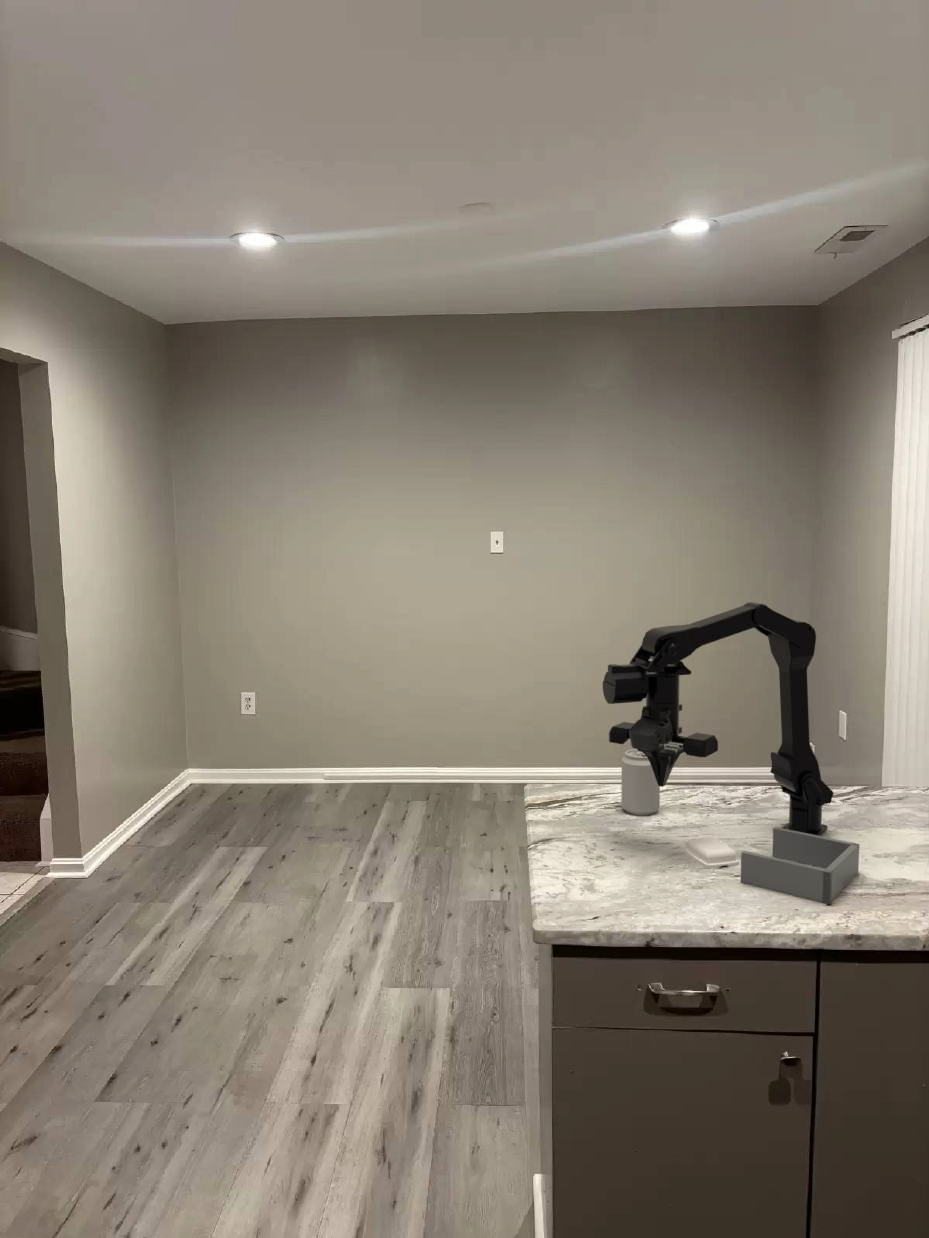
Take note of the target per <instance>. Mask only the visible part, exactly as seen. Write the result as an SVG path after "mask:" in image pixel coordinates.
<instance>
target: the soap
mask: <svg viewBox="0 0 929 1238" xmlns="http://www.w3.org/2000/svg"><path fill="white" fill-rule="evenodd" d="M683 852H684V854H685V855H686V856H688V858H690V859H691V860H693V862H695V863H697V864H699V865H700V866H702V867H703V868H705V869H707V870H709V869H720V868H721V867H724V866H727V867H728V868H729V867H735V866H739V865H740V860H739V859H738V858H737V852H736V851H735V850H734V849H733V848H732V847H730V846H729V845H727V844H726V843H725V842H723V841H721V839H718V838H716V837H715V836H705V837H696V838H690V839H687V841H686V846H685V847H684V848H683Z"/></svg>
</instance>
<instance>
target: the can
mask: <svg viewBox="0 0 929 1238" xmlns="http://www.w3.org/2000/svg"><path fill="white" fill-rule="evenodd" d="M624 754H625V755H624V756H623V757H622V759H621V793H620V794H621V795H620V796H621V797H620V798H621V799H620V800H621V807H622V809H624V810H625V812H626V813H628V814H631V815H635V816H649V815H653V814H655V813H656V811H658V810H659V809H660V806H661V805H660V797H661V793H660V792H661V791H660V790H661V788H660V787H661V786H658V783H657V781H656V778H655V775H654V772H653V769H652V767H651V764H650V762H649V760H648V758H647V756H646V755H644V754H643V753H642V752H640V751H638V750H637V749H635V748H633V749H628V750H626V751H625V752H624Z"/></svg>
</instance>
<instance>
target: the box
mask: <svg viewBox="0 0 929 1238" xmlns="http://www.w3.org/2000/svg"><path fill="white" fill-rule="evenodd" d="M771 855H772V856H769V855H764V854H760V853H757V852H756V853H755V852H751V851H748V850H747V851H746V850H742V851H741V852H740V883H743V884H746V885H751V886H754V887H759V888H763V889H767V890H770V891H775V892H779V893H783V894H787V895H791V896H794V897H799V898H803V899H807V900H811V901H814V902H819V903H824V904H827V905H830V904H831V903H832V901H834V900H835V899H836V897H838V895H839V894H840V893H841V892H842V891H843V890H844V889H845V888H846V887H847V886H848V885H849V884H850V883H851V882H852V881H853V879H854V878H855V877H856V876H857V875H858V874H859V862H860V843H856V842H851V841H846V840H842V839H836V838H831V837H828V836H827V837H826V836H821V835H819V836H817V835H813V834H808V833H803V832H798V831H793V830H788V829H783V828H782V827H777V826H774V827H773V828H772V853H771ZM773 856H774V857H773ZM800 862H801V863H800ZM804 863H805V864H804ZM818 866H819V867H818Z"/></svg>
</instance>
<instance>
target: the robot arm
mask: <svg viewBox="0 0 929 1238" xmlns="http://www.w3.org/2000/svg"><path fill="white" fill-rule="evenodd" d="M751 629H755V631H757V632H759V633H760V634H762V635H764V636H765V637H767V638H768V642H769V643H768V644H769V649H770V653H771V655H772V657H773V659H774V660H775V663H776V665H777V667H778V673H779V674H778V675H779V677H778V678H779V695H780V696H779V702H780V721H781V723H780V724H781V728H780V729H781V744H780V747H779V748H778V750H777V752H776V751H773V752H771V753H770V759H771V760H770V761H771V769H770V773H771V774H773V777H774V780H775V781H776V783H778V784H779V785H780V789H781V792H782V793H784V794H787V795H789V806H788V807H789V809H788V810H789V811H788V823H786V824H785V825H784V826H782V827H781V828H783V829H788V830H793V831H798V832H803V833H808V834H813V835H817V836H821V835H822V834H823V833H824V832H825V831H826V830H827V829H828V827H829V826H828V825H827V824H822V823H823V822H822V820H823V818H822V816H823V815H822V814H823V806H824V805H828V804H831V802H832V799H833V798H834V791H833V790H832V789H831V788H830V787H829V786H828V785H827V784H826V783H825V782H824V781H823V780H822V776H821V770H820V766H819V765H820V764H819V761H818V759H817V757H816V755H815V753H814V751H813V748H812V746H811V743H810V741H811V739H810V721H809V720H810V717H809V716H810V713H809V689H808V688H809V685H808V668H809V666H810V664H811V662H812V659H813V658H814V655H815V651H816V642H817V633H816V632H817V631H816V630H815V628H814V627H813V626H812V625H811V624H809V623H808V622H806V621H801V620H797V619H793V618H792V619H791V618H790V617H788V616H786V615H784V614H782V613H780V612H777V611H775V610H774V609H772V608H770V607H769V606H767V605H766V604H763V603H758V602H752V601H750V602H747V603H745V604H743V605H741V606H739V607H736V608H733V609H730V610H727V611H723V612H721V613H718V614H715V615H712V616H708V617H706V618H703V619H700V620H697V621H695V622H692V623H691V622H690V623H687V624H679V625H677V624H676V625H666V626H659V627H654V628H651V629H648V630H647V631H646V632H645V634H644V636H643V638H642V642H641V645H640V647H639V648H638V650H637V651H636V652H635V653H634V656H633V657H632V658H631V659H630V661H629V664H616V663H612V664H611V663H610V664H608V665H607V671H606V672H605V674H604V677H603V678H604V679H603V680H602V692H603V697H604V699H605V701H606V703H607V704H608V705H612V704H613V705H614V704H626V703H627V704H628V703H641V702H643V699H645V706H642V710H641V716H640V718H639V719H638V720H636V721H635V723H634V722H629V721H627V722H626V721H623V722H620V723H618V724H616V725H613V726H611V728H610V729H609V731H608V742H609V743H611V744H612V743H613V744H617V745H624V744H625V743H626V742H627V741H629V740H630V744H631V745H630V746H631V748H633V749H637V750H638V751H640V752H642V753H643V754H644V755H646V756H647V758H648V760H649V762H650V764H651V767H652V769H653V772H654V775H655V778H656V781H657V783H658V786H660V787H661V788H664V787H665V786H666V785H667V782H668V779H669V778H670V775H671V773H672V771H673V768H674V766H675V764H676V762H677V760H678V759H679V758H680V755H682V754H683V753H685V755H686V756H691V757H697V758H707V757H708V756H710V755H713V754H715V753H716V752H718V751H719V741H718V739H717V738H716V736H715V735H714V734H707V733H701V732H695V733H692V734H691V735H690V734H689V735H688V736H681V735H680V734H681V733H683V727H682V726H680V712H681V711H683V704H680V676H690V675H692V671H691V670H690V668H688V667H687V666H686V665H685V664H684V662H683V660H685V659H686V658H688V657H690V656H692V654H693V653H694V652H696V650H698V649H699V648H700V647H703V646H706V645H708V644H712V643H714V642H717V641H720V640H723V639H726V638H728V637H731V636H734V635H736V634H740V633H743V632H745V631H748V630H751Z"/></svg>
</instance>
